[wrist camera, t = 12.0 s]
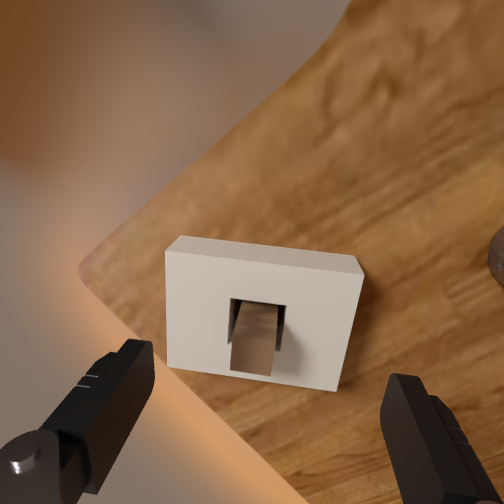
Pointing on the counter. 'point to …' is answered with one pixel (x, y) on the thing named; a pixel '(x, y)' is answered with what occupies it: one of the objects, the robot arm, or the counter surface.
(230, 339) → the socket board
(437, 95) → the counter surface
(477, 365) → the counter surface
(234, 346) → the peg
